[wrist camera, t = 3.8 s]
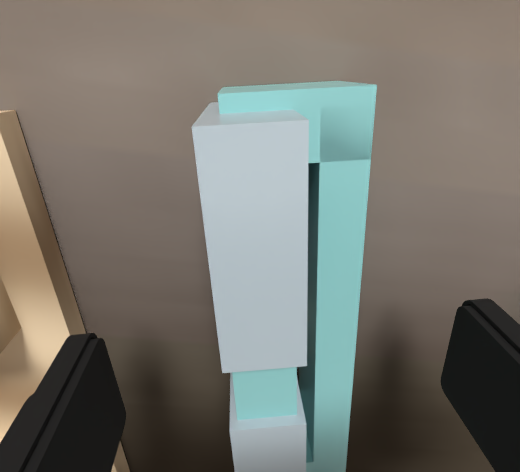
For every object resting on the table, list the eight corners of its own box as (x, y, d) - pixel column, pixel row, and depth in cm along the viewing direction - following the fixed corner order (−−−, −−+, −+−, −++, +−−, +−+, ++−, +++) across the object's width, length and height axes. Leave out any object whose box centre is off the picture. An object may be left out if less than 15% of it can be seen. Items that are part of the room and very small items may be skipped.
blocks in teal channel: (325, 413, 16) (359, 543, 12) (242, 420, 16) (245, 555, 12) (338, 80, 11) (414, 89, 6) (208, 88, 10) (188, 101, 6)
